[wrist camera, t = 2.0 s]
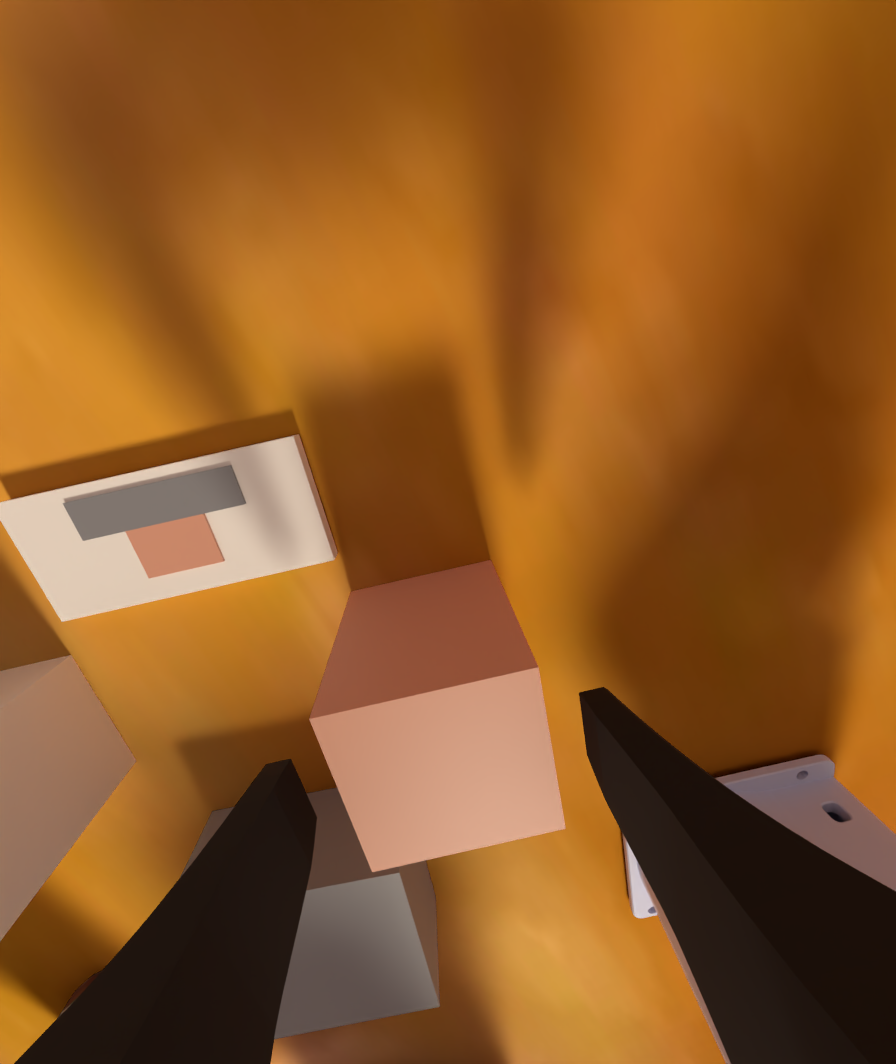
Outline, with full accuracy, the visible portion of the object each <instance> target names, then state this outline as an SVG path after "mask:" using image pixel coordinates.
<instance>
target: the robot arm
mask: <svg viewBox="0 0 896 1064" xmlns="http://www.w3.org/2000/svg"><path fill="white" fill-rule="evenodd" d="M579 696H580V704H581V711H582V719H583V727H584V734H585V742H586V750H587V756H588V758H589V761H590V763H591V766H592V768H593V771H594V773H595V776H596V778H597V781H598V783H599V786H600V788H601V791H602V793H603V795H604V798H605V800H606V802H607V804H608V806H609V808H610V810H611V812H612V814H613V816H614V818H615V819H616V821H617V823H618V825H619V827H620V829H621V831H622V834H623V843H624V853H625V863H626V872H627V882H628V892H629V901H630V907H631V910H632V912H633V915H634V916H635V917H637V918H646V917H650V916H655V915H658V917H659V919H660V921H661V923H662V925H663V928H664V930H665V932H666V934H667V936H668V938H669V941H670V943H671V945H672V947H673V949H674V951H675V954H676V956H677V958H678V960H679V962H680V964H681V967H682V969H683V971H684V973H685V975H686V978H687V980H688V982H689V984H690V986H691V988H692V991H693V993H694V995H695V997H696V999H697V1001H698V1004H699V1006H700V1008H701V1010H702V1012H703V1014H704V1017H705V1019H706V1021H707V1023H708V1025H709V1027H710V1030H711V1032H712V1034H713V1036H714V1038H715V1040H716V1043H717V1045H718V1047H719V1049H720V1051H721V1053H722V1056H723V1058H724V1060H725V1062H726V1064H896V834H895V833H894V832H892V831H891V830H890V829H889V828H888V827H887V826H886V825H885V824H884V823H883V822H882V821H881V820H879V819H878V818H877V817H876V816H875V815H874V814H873V813H872V812H871V811H870V810H869V809H868V808H867V807H865V806H864V805H863V804H862V803H861V802H860V801H859V800H858V799H857V798H856V797H855V796H854V795H852V794H851V793H850V792H849V791H848V790H847V789H846V788H845V787H844V786H843V785H842V784H841V783H839V782H838V781H837V780H836V779H835V778H833V777H834V770H835V765H834V763H833V762H832V761H831V760H830V759H829V758H828V757H827V756H825V755H814V756H810V757H805V758H801V759H796V760H792V761H788V762H783V763H779V764H774V765H770V766H766V767H761V768H757V769H752V770H748V771H743V772H739V773H735V774H730V775H726V776H721V777H717V778H714V777H713V776H711V775H710V774H708V773H707V772H706V771H704V770H703V769H702V768H700V767H699V766H698V765H696V764H695V763H694V762H693V761H691V760H690V759H689V758H687V757H686V756H685V755H684V754H682V753H681V752H680V751H679V750H677V749H676V748H675V747H674V746H672V745H671V744H670V743H669V742H667V741H666V740H665V739H664V738H662V737H661V736H660V735H659V734H658V733H656V732H655V731H654V730H653V729H652V728H650V727H649V726H648V725H647V724H646V723H645V722H643V721H642V720H641V719H640V718H639V717H638V716H636V715H635V714H634V713H633V712H632V711H631V710H630V709H628V708H627V707H626V706H625V705H624V704H623V703H622V702H621V701H620V700H618V699H617V698H616V697H615V696H614V695H613V694H612V693H611V692H610V691H609V690H607V689H606V688H604V687H602V688H597V689H593V690H588V691H584V692H580V693H579ZM316 824H317V816H316V813H315V811H314V809H313V807H312V805H311V802H310V800H309V798H308V796H307V793H306V791H305V789H304V787H303V785H302V782H301V780H300V778H299V776H298V774H297V771H296V769H295V767H294V765H293V763H292V760H291V759H287V760H283V761H278V762H274V763H270V764H266V765H265V767H264V768H263V769H262V771H261V772H260V773H259V774H258V776H257V777H256V778H255V780H254V781H253V782H252V784H251V785H250V786H249V788H248V789H247V790H246V792H245V793H244V795H243V796H242V797H241V799H240V800H239V801H238V803H237V804H236V805H235V807H234V808H233V809H232V811H231V812H230V814H229V815H228V816H227V818H226V819H225V820H224V822H223V823H222V824H221V826H220V827H219V828H218V830H217V831H216V832H215V834H214V835H213V836H212V838H211V839H210V840H209V842H208V843H207V844H206V846H205V847H204V848H203V849H202V851H201V852H200V853H199V855H198V856H197V857H196V859H195V860H194V861H193V863H192V864H191V865H190V866H189V868H188V869H187V870H186V871H185V873H184V874H183V875H182V876H181V878H180V879H179V880H178V881H177V883H176V884H175V885H174V886H173V888H172V889H171V890H170V891H169V892H168V894H167V895H166V896H165V897H164V899H163V900H162V901H161V902H160V904H159V905H158V906H157V907H156V909H155V910H154V911H153V912H152V914H151V915H150V916H149V917H148V919H147V920H146V921H145V922H144V923H143V924H142V926H141V927H140V928H139V929H138V930H137V932H136V933H135V934H134V935H133V936H132V937H131V939H130V940H129V941H128V942H127V943H126V944H125V946H124V947H123V948H122V949H121V950H120V951H119V952H118V953H117V955H116V956H115V957H114V958H113V959H112V960H111V961H110V962H109V964H108V965H107V966H106V967H105V968H104V969H103V970H102V971H101V972H100V974H99V975H98V976H97V977H96V978H95V979H94V980H93V981H92V983H91V984H90V985H89V986H88V987H87V988H86V989H85V990H84V991H83V992H82V993H81V995H80V996H79V997H78V998H77V999H76V1000H75V1001H74V1002H73V1003H72V1004H71V1005H70V1006H69V1007H68V1008H67V1009H66V1010H65V1011H64V1012H63V1013H62V1014H61V1015H60V1016H59V1018H58V1019H57V1020H56V1021H55V1022H54V1023H53V1024H52V1025H51V1026H50V1027H49V1028H48V1029H47V1030H46V1031H45V1032H44V1033H43V1034H42V1035H41V1036H40V1037H39V1038H38V1039H37V1040H36V1041H35V1042H34V1043H33V1045H32V1046H31V1047H30V1048H29V1049H28V1050H27V1051H26V1052H25V1053H24V1054H23V1055H22V1056H21V1057H20V1058H19V1059H18V1060H17V1061H16V1062H15V1063H14V1064H270V1062H271V1056H272V1049H273V1043H274V1036H275V1030H276V1025H277V1020H278V1015H279V1010H280V1005H281V1000H282V995H283V991H284V986H285V982H286V977H287V973H288V969H289V964H290V960H291V956H292V951H293V947H294V942H295V938H296V934H297V929H298V925H299V921H300V916H301V912H302V908H303V903H304V899H305V894H306V890H307V885H308V880H309V876H310V871H311V866H312V858H313V851H314V843H315V833H316Z"/></svg>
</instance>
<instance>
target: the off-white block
mask: <svg viewBox="0 0 896 1064" xmlns="http://www.w3.org/2000/svg"><path fill="white" fill-rule="evenodd" d="M135 762H136V759H135V758H134V756H133V754H132V753H131V751H130V750H129V748H128V746H127V745H126V743H125V742H124V740H123V738H122V737H121V735H120V733H119V732H118V730H117V729H116V727H115V725H114V724H113V722H112V720H111V719H110V717H109V716H108V714H107V712H106V711H105V709H104V707H103V706H102V704H101V703H100V701H99V699H98V698H97V696H96V695H95V693H94V691H93V690H92V688H91V686H90V685H89V683H88V682H87V680H86V678H85V677H84V675H83V673H82V672H81V670H80V669H79V667H78V665H77V664H76V662H75V660H74V659H73V657H72V656H71V655H68V656H64V657H60V658H55V659H51V660H46V661H42V662H38V663H33V664H29V665H24V666H20V667H16V668H11V669H7V670H2V671H0V941H1V940H2V938H3V937H4V936H5V934H6V933H7V932H8V930H9V929H10V928H11V926H12V925H13V924H14V923H15V921H16V920H17V919H18V917H19V916H20V915H21V913H22V912H23V911H24V909H25V908H26V907H27V905H28V904H29V903H30V901H31V900H32V899H33V897H34V896H35V895H36V893H37V892H38V891H39V889H40V888H41V887H42V885H43V884H44V883H45V881H46V880H47V879H48V877H49V876H50V875H51V874H52V872H53V871H54V870H55V868H56V867H57V866H58V864H59V863H60V862H61V860H62V859H63V858H64V856H65V855H66V854H67V852H68V851H69V850H70V848H71V847H72V846H73V844H74V843H75V842H76V840H77V839H78V838H79V836H80V835H81V834H82V832H83V831H84V830H85V828H86V827H87V826H88V825H89V823H90V822H91V821H92V819H93V818H94V817H95V815H96V814H97V813H98V811H99V810H100V809H101V807H102V806H103V805H104V803H105V802H106V801H107V799H108V798H109V797H110V795H111V794H112V793H113V791H114V790H115V789H116V787H117V786H118V785H119V783H120V782H121V781H122V780H123V778H124V777H125V776H126V774H127V773H128V772H129V770H130V769H131V768H132V766H133V765H134V764H135Z"/></svg>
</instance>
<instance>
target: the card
mask: <svg viewBox="0 0 896 1064" xmlns="http://www.w3.org/2000/svg"><path fill="white" fill-rule="evenodd" d="M0 520H1V522H2V524H3V525H4V527H5V529H6V530H7V532H8V534H9V535H10V537H11V539H12V540H13V542H14V544H15V545H16V547H17V549H18V550H19V552H20V554H21V555H22V557H23V558H24V560H25V562H26V563H27V565H28V567H29V568H30V570H31V572H32V573H33V575H34V577H35V578H36V580H37V582H38V583H39V585H40V587H41V588H42V590H43V591H44V593H45V595H46V596H47V598H48V600H49V601H50V603H51V605H52V606H53V608H54V610H55V611H56V613H57V615H58V616H59V618H60V620H61V621H62V622H63V621H68V620H72V619H76V618H81V617H85V616H90V615H94V614H99V613H103V612H107V611H112V610H116V609H121V608H125V607H129V606H134V605H138V604H143V603H147V602H152V601H156V600H160V599H165V598H169V597H174V596H178V595H182V594H187V593H191V592H196V591H200V590H205V589H209V588H213V587H218V586H222V585H227V584H231V583H235V582H240V581H244V580H249V579H253V578H257V577H262V576H266V575H271V574H275V573H280V572H284V571H288V570H293V569H297V568H302V567H306V566H310V565H315V564H319V563H324V562H328V561H333V560H335V558H336V556H337V554H338V552H337V549H336V546H335V543H334V540H333V537H332V534H331V531H330V528H329V525H328V522H327V518H326V515H325V512H324V509H323V506H322V503H321V500H320V497H319V494H318V491H317V488H316V485H315V482H314V479H313V476H312V473H311V470H310V467H309V463H308V460H307V457H306V454H305V451H304V448H303V445H302V442H301V439H300V436H299V434H297V435H293V436H288V437H284V438H279V439H275V440H271V441H266V442H262V443H257V444H253V445H249V446H244V447H240V448H235V449H231V450H226V451H222V452H218V453H213V454H209V455H204V456H200V457H196V458H191V459H187V460H182V461H178V462H173V463H169V464H165V465H160V466H156V467H151V468H147V469H143V470H138V471H134V472H129V473H125V474H121V475H116V476H112V477H107V478H103V479H98V480H94V481H90V482H85V483H81V484H76V485H72V486H68V487H63V488H59V489H54V490H50V491H46V492H41V493H37V494H32V495H28V496H23V497H19V498H15V499H10V500H6V501H3V502H0Z"/></svg>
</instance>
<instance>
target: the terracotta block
mask: <svg viewBox="0 0 896 1064" xmlns="http://www.w3.org/2000/svg"><path fill="white" fill-rule="evenodd" d="M309 720H310V722H311V725H312V727H313V730H314V732H315V735H316V737H317V739H318V742H319V744H320V747H321V749H322V752H323V754H324V756H325V759H326V761H327V764H328V766H329V769H330V771H331V773H332V776H333V778H334V781H335V783H336V786H337V788H338V790H339V793H340V795H341V798H342V800H343V803H344V805H345V807H346V810H347V812H348V815H349V817H350V819H351V822H352V824H353V827H354V829H355V832H356V834H357V836H358V839H359V841H360V844H361V846H362V849H363V851H364V853H365V856H366V858H367V861H368V863H369V866H370V868H371V870H372V872H376V871H381V870H385V869H389V868H394V867H398V866H403V865H407V864H411V863H416V862H420V861H425V860H429V859H434V858H438V857H442V856H447V855H451V854H456V853H460V852H465V851H469V850H473V849H478V848H482V847H487V846H491V845H495V844H500V843H504V842H509V841H513V840H518V839H522V838H526V837H531V836H535V835H540V834H544V833H548V832H553V831H557V830H562V829H566V828H565V822H564V816H563V810H562V805H561V799H560V793H559V787H558V781H557V775H556V769H555V763H554V757H553V751H552V745H551V739H550V733H549V727H548V721H547V715H546V709H545V704H544V698H543V692H542V686H541V680H540V674H539V668H538V665H537V663H536V661H535V658H534V656H533V654H532V652H531V649H530V647H529V645H528V643H527V640H526V638H525V636H524V634H523V631H522V629H521V627H520V625H519V622H518V620H517V618H516V616H515V613H514V611H513V609H512V607H511V604H510V602H509V600H508V598H507V595H506V593H505V591H504V588H503V586H502V584H501V582H500V579H499V577H498V575H497V573H496V570H495V568H494V566H493V564H492V561H491V560H488V561H484V562H479V563H475V564H470V565H466V566H462V567H457V568H453V569H448V570H444V571H440V572H435V573H431V574H426V575H422V576H417V577H413V578H409V579H404V580H400V581H395V582H391V583H386V584H382V585H378V586H373V587H369V588H364V589H360V590H356V591H351V593H350V596H349V599H348V602H347V605H346V608H345V611H344V614H343V617H342V620H341V623H340V626H339V629H338V632H337V636H336V639H335V642H334V645H333V648H332V651H331V654H330V657H329V660H328V663H327V666H326V669H325V672H324V675H323V678H322V681H321V684H320V688H319V691H318V694H317V697H316V700H315V703H314V706H313V709H312V712H311V715H310V718H309Z"/></svg>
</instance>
